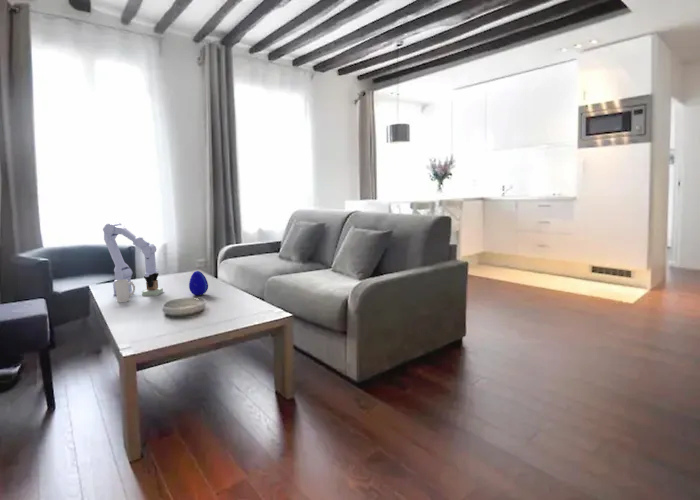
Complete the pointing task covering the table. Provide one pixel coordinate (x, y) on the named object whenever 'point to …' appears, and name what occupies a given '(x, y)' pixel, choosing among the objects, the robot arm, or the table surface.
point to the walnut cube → (155, 285)
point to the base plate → (152, 292)
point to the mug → (123, 290)
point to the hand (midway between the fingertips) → (152, 286)
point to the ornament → (198, 283)
